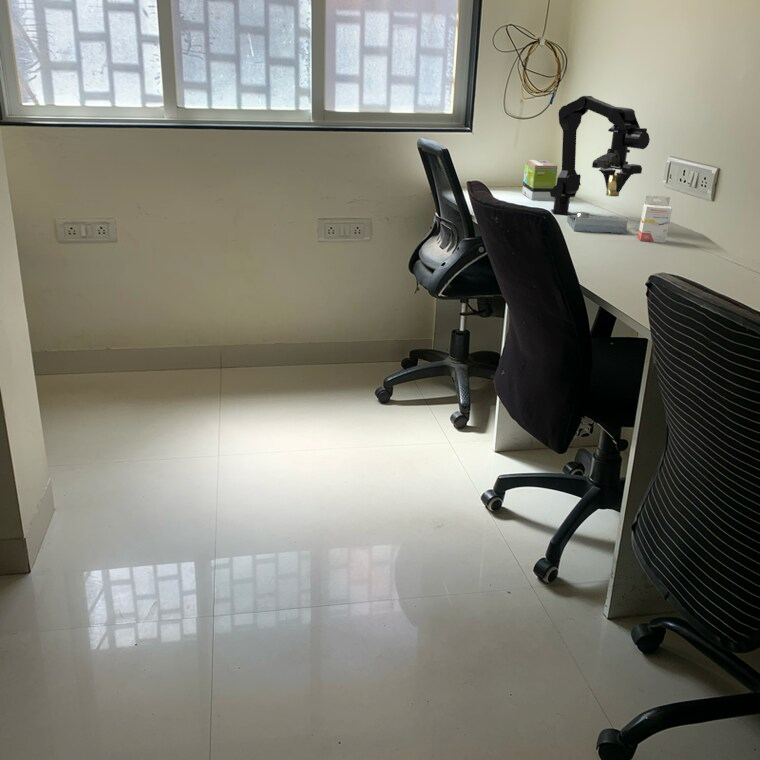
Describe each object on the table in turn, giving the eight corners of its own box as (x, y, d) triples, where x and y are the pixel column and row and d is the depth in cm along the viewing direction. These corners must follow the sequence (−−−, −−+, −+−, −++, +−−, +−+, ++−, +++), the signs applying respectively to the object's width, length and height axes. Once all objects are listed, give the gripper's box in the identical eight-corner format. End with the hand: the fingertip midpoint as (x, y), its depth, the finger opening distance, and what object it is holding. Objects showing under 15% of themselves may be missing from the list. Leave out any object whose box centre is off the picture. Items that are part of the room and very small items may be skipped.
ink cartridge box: (640, 241, 264) (647, 197, 258) (637, 237, 268) (644, 194, 263) (666, 242, 263) (674, 198, 257) (662, 239, 268) (670, 196, 262)
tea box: (521, 194, 339) (524, 159, 333) (543, 194, 340) (547, 159, 335) (530, 200, 326) (535, 164, 320) (554, 201, 327) (558, 164, 321)
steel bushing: (574, 225, 283) (576, 211, 281) (586, 225, 283) (588, 212, 281) (576, 227, 279) (578, 214, 277) (588, 228, 279) (590, 214, 277)
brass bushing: (612, 194, 284) (615, 174, 281) (621, 196, 280) (624, 176, 277) (603, 194, 282) (606, 175, 279) (612, 196, 278) (615, 176, 275)
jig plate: (566, 221, 289) (568, 209, 287) (615, 224, 288) (617, 211, 286) (574, 231, 274) (575, 218, 272) (625, 233, 273) (627, 221, 272)
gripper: (583, 143, 278) (578, 188, 284) (623, 149, 263) (616, 196, 269) (606, 143, 283) (600, 186, 289) (646, 148, 268) (639, 194, 274)
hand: (613, 191), depth 280 cm, fingers closed on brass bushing, 4 cm apart
